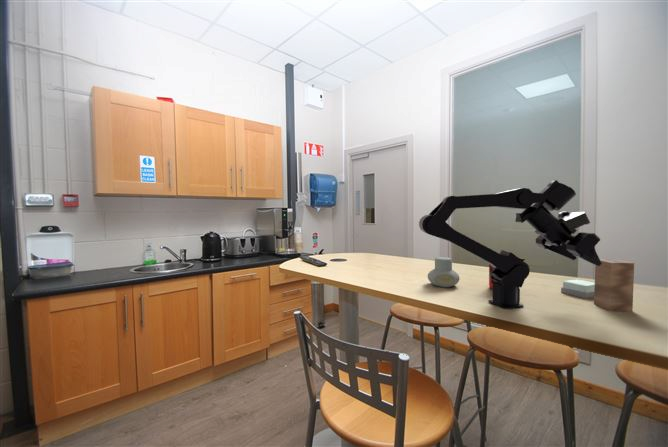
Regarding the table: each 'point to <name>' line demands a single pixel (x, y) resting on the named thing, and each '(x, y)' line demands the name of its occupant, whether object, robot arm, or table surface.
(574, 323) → the table surface
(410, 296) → the table surface
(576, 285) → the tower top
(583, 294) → the tower base
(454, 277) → the air freshener
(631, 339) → the table surface
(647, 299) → the table surface
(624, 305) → the walnut post
